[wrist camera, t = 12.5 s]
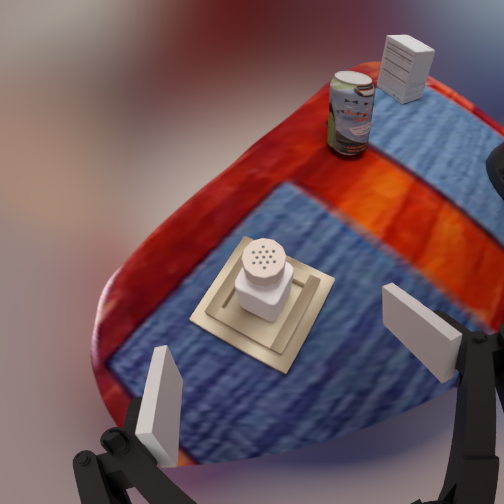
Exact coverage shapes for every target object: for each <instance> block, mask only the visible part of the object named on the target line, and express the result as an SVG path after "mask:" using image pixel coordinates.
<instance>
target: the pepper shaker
mask: <svg viewBox="0 0 504 504" xmlns="http://www.w3.org/2000/svg"><path fill="white" fill-rule="evenodd" d="M242 265H243V267H242V269H241V271H240V272H239V274H238V276H237V278H236V280H235V289H236V293H237V296H238V300H239V303H240V306H241V307H242V308H243V309H245V310H247V311H249V312H251V313H253V314H255V315H257V316H259V317H261V318H263V319H265V320H267V321H270V322H274V321H275V320H276V319H277V318H278V316H279V314H280V312H281V310H282V308H283V307H284V305H285V303H286V301H287V299H288V297H289V295H290V290H291V285H292V280H293V274H294V268H293V267H292V266H291V264H290V263H288V262H286V255H285V252H284V250H283V247H282V246H281V245H279V244H278V243H277V242H275V241H274V240H270V239H264V238H262V239H258V240H255V241H252V242H251V243H250V244H249V245H248V246H247V247H246V248H245V249H244V251H243V255H242Z"/></svg>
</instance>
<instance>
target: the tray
mask: <svg viewBox="0 0 504 504" xmlns="http://www.w3.org/2000/svg"><path fill="white" fill-rule="evenodd" d="M252 241H255V240H253V239H251V238H248V237H246V236H244V237H243V239H242V240H241V242H240V243H239V245H238V246H237V248H236V249H235V251H234V252H233V254H232V255H231V257H230V258H229V260H228V261H227V263H226V264H225V266H224V267H223V269H222V270H221V272H220V273H219V275H218V276H217V278H216V279H215V281H214V282H213V284H212V285H211V287H210V288H209V290H208V291H207V293H206V294H205V296H204V298H203V299H202V301H201V302H200V304H199V305H198V307H197V308H196V310H195V311H194V313H193V314H192V316H191V317H190V320H191V321H192V322H193V323H195V324H196V325H198V326H199V327H201V328H203V329H204V330H206V331H208V332H209V333H211V334H213V335H215V336H216V337H218V338H220V339H221V340H223V341H225V342H227V343H228V344H230V345H232V346H234V347H235V348H237V349H239V350H241V351H242V352H244V353H246V354H248V355H250V356H252V357H253V358H255V359H257V360H259V361H261V362H263V363H265V364H266V365H268V366H270V367H272V368H274V369H276V370H278V371H280V372H282V373H284V374H286V373H287V372H288V370H289V368H290V366H291V364H292V363H293V361H294V359H295V357H296V355H297V353H298V352H299V350H300V348H301V346H302V344H303V342H304V340H305V339H306V337H307V335H308V333H309V331H310V329H311V327H312V325H313V323H314V321H315V319H316V317H317V315H318V313H319V311H320V309H321V307H322V305H323V303H324V301H325V299H326V297H327V295H328V293H329V291H330V289H331V287H332V284H333V282H334V280H335V278H333V277H330V276H328V275H326V274H324V273H322V272H320V271H318V270H316V269H314V268H312V267H310V266H307V265H305V264H303V263H301V262H299V261H297V260H295V259H293V258H291V257H289V256H287V255H286V262H288V263H290V264H291V266H292V267H293V268H294V274H293V280H292V285H291V290H290V295H289V297H288V299H287V301H286V303H285V305H284V307H283V308H282V310H281V312H280V314H279V316H278V318H277V319H276V320H275V321H274V322H270V321H267V320H265V319H263V318H261V317H259V316H257V315H255V314H253V313H251V312H249V311H247V310H245V309H243V308H242V307H241V306H240V303H239V300H238V296H237V293H236V289H235V280H236V278H237V276H238V274H239V272H240V271H241V269H242V267H243V265H242V255H243V251H244V249H245V248H246V247H247V246H248V245H249V244H250V243H251V242H252Z"/></svg>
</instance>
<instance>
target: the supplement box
mask: <svg viewBox="0 0 504 504" xmlns="http://www.w3.org/2000/svg"><path fill="white" fill-rule="evenodd" d="M434 53H435V51H434V50H433V49H432V48H430V47H428V46H427V45H425V44H423V43H421V42H420V41H418V40H416V39H414V38H412V37H410V36H408V35H390V36H388V35H387V37H386V43H385V48H384V53H383V57H382V62H381V67H380V72H379V76H378V81H377V87H378V88H380V89H381V90H383V91H384V92H385V93H387V94H388V95H390V96H391V97H392V98H394V99H395V100H397V101H398V102H399V103H401V104H404V103H407V102H411V101H414V100H417V99H420V98H421V95H422V92H423V89H424V86H425V83H426V80H427V77H428V73H429V70H430V66H431V63H432V60H433V57H434Z"/></svg>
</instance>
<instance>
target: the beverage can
mask: <svg viewBox="0 0 504 504" xmlns="http://www.w3.org/2000/svg"><path fill="white" fill-rule="evenodd" d="M374 97H375V88H374V86H373V84H372V79H371V78H370V77H369V76H367V75H365V74H362V73H358V72H353V71H340V72H337V73H336V74H335V77H334V78H333V79H332V81H331V83H330V100H329V120H328V137H327V142H328V144H329V145H330V146H331V147H332V148H333V149H334V150H336V151H337V152H339V153H342V154H345V155H355V154H359V153H362V152H364V151H365V150H366V149H367V145H368V139H369V133H370V126H371V119H372V112H373V105H374Z"/></svg>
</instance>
